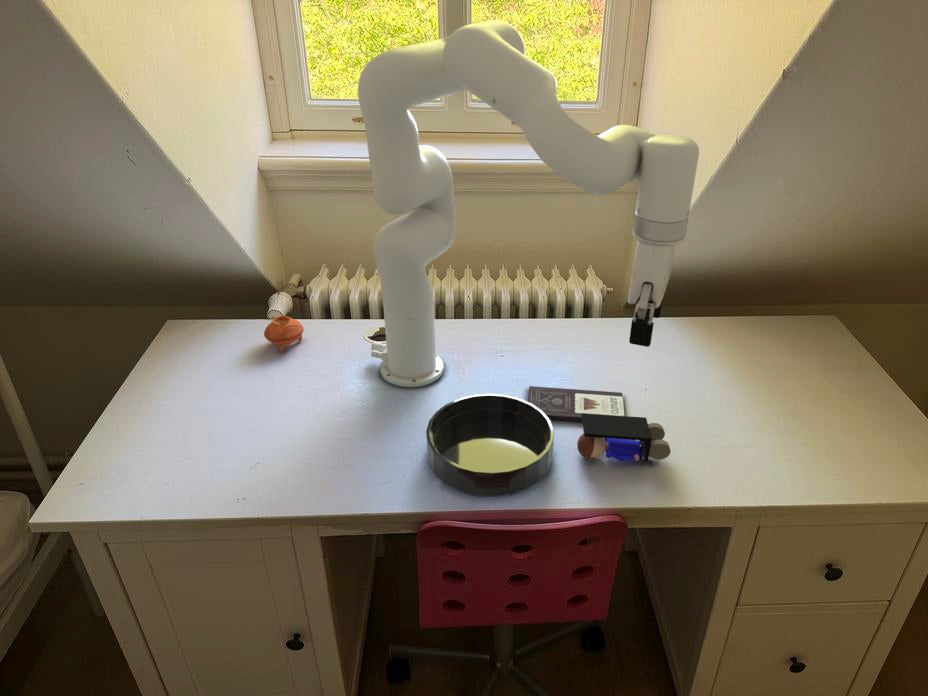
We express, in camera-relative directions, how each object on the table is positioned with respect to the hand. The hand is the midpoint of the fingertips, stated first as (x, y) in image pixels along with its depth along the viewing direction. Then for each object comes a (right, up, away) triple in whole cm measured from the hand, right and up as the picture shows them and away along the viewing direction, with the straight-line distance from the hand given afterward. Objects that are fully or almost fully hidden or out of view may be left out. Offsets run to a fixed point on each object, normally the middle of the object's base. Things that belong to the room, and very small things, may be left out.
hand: (644, 329), depth 109 cm
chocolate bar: (-9, -13, +21) cm, 27 cm away
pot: (-69, 0, +37) cm, 78 cm away
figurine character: (-2, -21, +10) cm, 24 cm away
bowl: (-25, -21, +9) cm, 34 cm away
